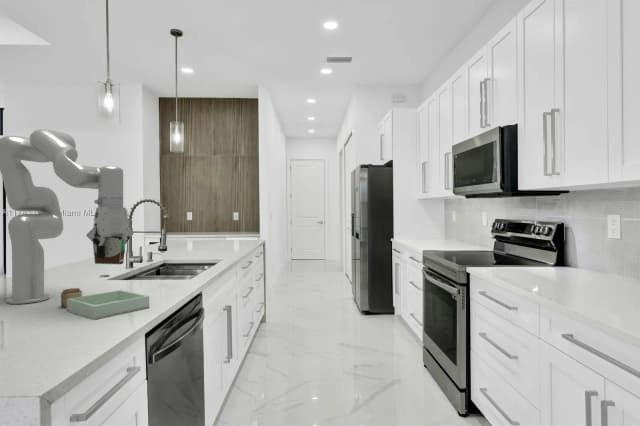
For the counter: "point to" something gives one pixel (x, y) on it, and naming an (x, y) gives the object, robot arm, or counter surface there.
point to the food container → (112, 250)
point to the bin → (107, 304)
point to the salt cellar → (69, 295)
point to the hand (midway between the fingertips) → (111, 256)
